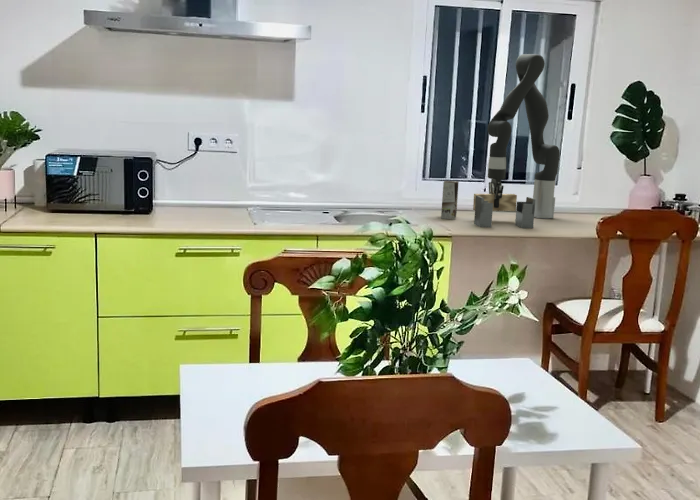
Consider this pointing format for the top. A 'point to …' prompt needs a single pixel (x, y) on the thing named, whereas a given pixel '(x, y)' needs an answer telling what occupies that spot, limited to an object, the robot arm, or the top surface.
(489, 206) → the bracket
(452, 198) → the coffee box
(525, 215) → the bracket
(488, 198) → the rail
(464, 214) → the top surface
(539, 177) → the robot arm
